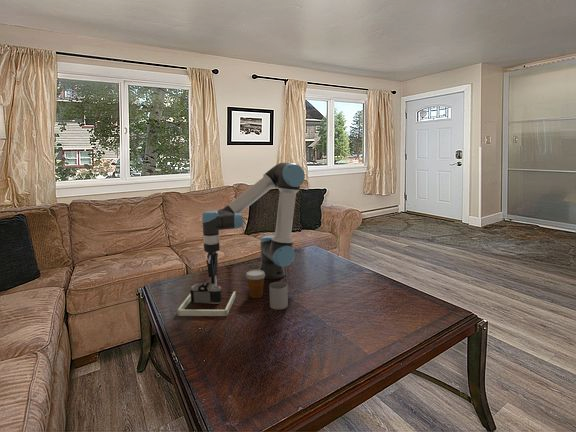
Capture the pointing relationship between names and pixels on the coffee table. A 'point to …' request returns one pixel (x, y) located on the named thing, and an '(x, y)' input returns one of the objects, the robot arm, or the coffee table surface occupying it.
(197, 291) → the camera
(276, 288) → the cup
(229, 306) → the docking bay
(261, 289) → the disposable coffee cup
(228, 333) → the coffee table surface
